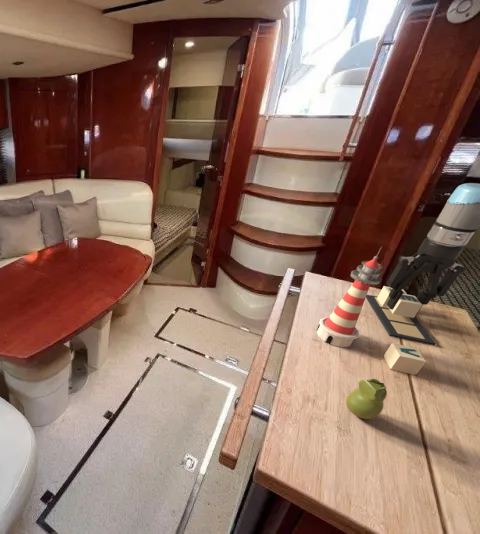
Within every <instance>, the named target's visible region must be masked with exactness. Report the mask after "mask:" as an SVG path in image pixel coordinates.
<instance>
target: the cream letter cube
mask: <svg viewBox="0 0 480 534" xmlns="http://www.w3.org/2000/svg"><path fill="white" fill-rule="evenodd" d="M382 358H384V360H385V362H386V364H387V366H388V368H389V369H390V370H392V371H395V372H400V373H404V374H407V375H412V376H417V374H418V373H419V371H421V369H422V368H423V366H425V364H426V362H427V361H426V360H425V358H424V356H423V355H422V354H421V352H420V351H419V349H418V348H417V347H413V346H409V345H405V344H400V343H394V342H391V344H390V346H388V348H387V350H386V351H385V353H384V355H383V357H382Z"/></svg>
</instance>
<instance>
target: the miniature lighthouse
mask: <svg viewBox="0 0 480 534" xmlns="http://www.w3.org/2000/svg"><path fill="white" fill-rule="evenodd" d="M382 247H383V246H381V247H380V248H379V251H378V252H377V254H376V255H375V256H373V258H372V259H371V260H363V261H361V264H359V265H358V266H357V267H356V269H354V270H352V271H351V273H350V277H351V278H352V279H353V280H354V282H353V283H352V284H351V285H350V287H349V289H348V290H347V291H346V293H345V294H344V295H343V297H342V298H341V300H340V301H339V302H338V304H337V305H336V307H335V308H334V310H333V311H332V312H331V314H330V315H329V316H325V317H322V318H320V319H319V322H318V323H319V324H318V325H317V327H316V334H317V336H318V337H319V338H320V339H321V340H322V341H324V342H325V343H326V344H328V345H331V346H335V347H338V348H348V347H351V346H352V345H353V343H354V341H355V340H356V339H357V338H359V336H360V332H359V330H358V328H357V327H356V325H357V323H358V320H359V317H360V315H361V312H362V309H363V306H364V304H365V300H366V299H367V298H366V295H368V293H369V289H370V287H371V285H373V286H374V285H375V286H376V285H380V283H381V282H382V280H383V279H382V277H381V275H382V274H383V272H382V271H381V270H382V269H383V268H384V267H383V265H382V264H380V263H379V262H378V259H379V256H378V255H379V254H380V251H381V250H382Z"/></svg>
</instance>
